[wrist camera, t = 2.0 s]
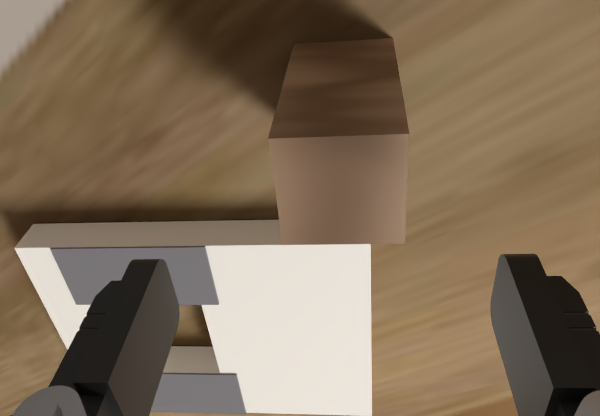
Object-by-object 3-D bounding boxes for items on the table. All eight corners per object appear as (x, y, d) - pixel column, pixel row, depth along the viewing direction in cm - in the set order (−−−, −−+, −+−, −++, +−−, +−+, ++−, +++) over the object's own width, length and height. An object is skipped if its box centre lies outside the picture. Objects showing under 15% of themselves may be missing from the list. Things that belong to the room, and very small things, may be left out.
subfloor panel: (369, 217, 27) (370, 245, 25) (371, 388, 35) (371, 417, 33) (33, 223, 29) (13, 249, 27) (109, 383, 37) (97, 410, 35)
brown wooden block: (392, 38, 21) (409, 133, 15) (391, 127, 24) (404, 243, 17) (293, 43, 22) (268, 138, 15) (301, 130, 24) (282, 244, 18)
